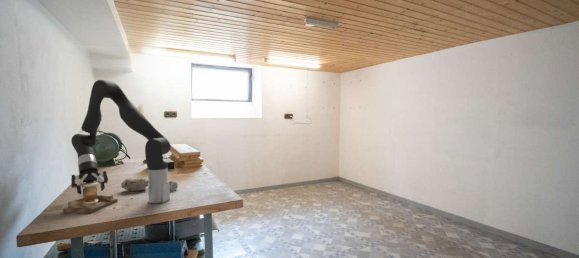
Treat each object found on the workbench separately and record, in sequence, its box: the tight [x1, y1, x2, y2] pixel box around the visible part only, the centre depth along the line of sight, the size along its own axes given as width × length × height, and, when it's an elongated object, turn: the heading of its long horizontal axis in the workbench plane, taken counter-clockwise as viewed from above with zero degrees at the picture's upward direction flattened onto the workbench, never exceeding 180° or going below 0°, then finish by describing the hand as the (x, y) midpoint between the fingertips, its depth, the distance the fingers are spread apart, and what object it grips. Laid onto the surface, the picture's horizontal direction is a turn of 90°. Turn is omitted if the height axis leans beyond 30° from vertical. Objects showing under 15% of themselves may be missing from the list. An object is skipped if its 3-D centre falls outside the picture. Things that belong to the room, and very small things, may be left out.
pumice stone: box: [120, 178, 148, 192], centre depth 153 cm, size 14×12×8 cm
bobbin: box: [81, 181, 99, 204], centre depth 125 cm, size 6×6×10 cm
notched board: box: [62, 194, 119, 214], centre depth 125 cm, size 14×16×4 cm
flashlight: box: [168, 180, 179, 192], centre depth 156 cm, size 15×5×5 cm, turn 66°
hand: (91, 191), depth 124 cm, fingers open, 8 cm apart
